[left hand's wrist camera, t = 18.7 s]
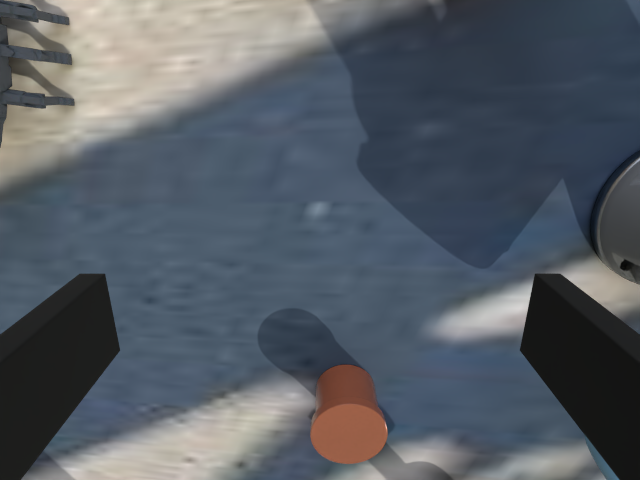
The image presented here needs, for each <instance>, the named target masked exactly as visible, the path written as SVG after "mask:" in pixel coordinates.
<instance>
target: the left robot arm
mask: <svg viewBox="0 0 640 480" xmlns="http://www.w3.org/2000/svg"><path fill="white" fill-rule="evenodd" d="M591 237H592V242H593V246H594V248H595V251H596V253H597V254H598V256H599V258H600V259H601V260H602V262H603V263H604V264H605V265H606V266H607V267H608V268H610V269H611V270H612V271H614V272H615V273H617V274H619V275H620V276H622V277H623V278H625V279H627V280H629V281H632V282H634V283H637V284H640V150H639V151H638V152H636V153H635V154H633V155H632V156H631V157H629V158H628V159H627V160H626V161H625V162H623V163H622V164H621V165H620V166H619V167H618V168H617V169H616V170H615V172H614V173H613V174H612V175H611V176H610V178H609V179H608V180H607V182H606V183H605V185H604V186H603V188H602V190H601V192H600V194H599V196H598V198H597V200H596V203H595V206H594V209H593V213H592V218H591ZM119 351H120V348H119V342H118V337H117V332H116V327H115V322H114V317H113V312H112V307H111V302H110V297H109V292H108V287H107V282H106V277H105V274H79V275H78V276H76V277H75V278H74V279H72V280H71V281H70V282H68V283H67V284H66V285H65V286H63V287H62V288H61V289H59V290H58V291H57V292H55V293H54V294H53V295H51V296H50V297H49V298H48V299H46V300H45V301H44V302H42V303H41V304H40V305H38V306H37V307H36V308H34V309H33V310H32V311H31V312H29V313H28V314H27V315H25V316H24V317H23V318H21V319H20V320H19V321H18V322H16V323H15V324H14V325H12V326H11V327H10V328H8V329H7V330H6V331H4V332H3V333H2V334H1V335H0V480H21V479H22V477H23V476H24V475H25V473H26V472H27V471H28V470H29V468H30V467H31V466H32V464H33V463H34V462H35V460H36V459H37V458H38V456H39V455H40V454H41V453H42V451H43V450H44V449H45V447H46V446H47V445H48V443H49V442H50V441H51V440H52V438H53V437H54V436H55V434H56V433H57V432H58V430H59V429H60V428H61V427H62V425H63V424H64V423H65V421H66V420H67V419H68V417H69V416H70V415H71V414H72V412H73V411H74V410H75V408H76V407H77V406H78V404H79V403H80V402H81V401H82V399H83V398H84V397H85V395H86V394H87V393H88V391H89V390H90V389H91V387H92V386H93V385H94V384H95V382H96V381H97V380H98V378H99V377H100V376H101V374H102V373H103V372H104V371H105V369H106V368H107V367H108V365H109V364H110V363H111V361H112V360H113V359H114V358H115V356H116V355H117V354H118V352H119ZM520 351H521V352H522V354H523V355H524V356H525V358H526V359H527V360H528V361H529V363H530V364H531V365H532V367H533V368H534V369H535V371H536V372H537V373H538V374H539V376H540V377H541V378H542V380H543V381H544V382H545V384H546V385H547V386H548V387H549V389H550V390H551V391H552V393H553V394H554V395H555V397H556V398H557V399H558V401H559V402H560V403H561V404H562V406H563V407H564V408H565V410H566V411H567V412H568V414H569V415H570V416H571V417H572V419H573V420H574V421H575V423H576V424H577V425H578V427H579V428H580V429H581V430H582V432H583V433H584V435H585V440H586V443H587V446H588V448H589V450H590V452H591V455H592V456H593V458H594V460H595V462H596V464H597V465H598V467H599V469H600V470H601V472H602V473H603V475H604V476H605V478H606V479H607V480H640V335H639V334H638V333H637V332H636V331H634V330H633V329H632V328H630V327H629V326H628V325H626V324H625V323H624V322H622V321H621V320H620V319H619V318H617V317H616V316H615V315H613V314H612V313H611V312H609V311H608V310H607V309H606V308H604V307H603V306H602V305H600V304H599V303H598V302H596V301H595V300H594V299H592V298H591V297H590V296H589V295H587V294H586V293H585V292H583V291H582V290H581V289H579V288H578V287H577V286H575V285H574V284H573V283H572V282H570V281H569V280H568V279H566V278H565V277H564V276H562V275H561V274H535V277H534V282H533V287H532V292H531V297H530V302H529V307H528V312H527V317H526V322H525V327H524V332H523V337H522V342H521V348H520Z"/></svg>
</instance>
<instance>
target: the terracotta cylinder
mask: <svg viewBox="0 0 640 480" xmlns="http://www.w3.org/2000/svg"><path fill="white" fill-rule="evenodd" d="M387 435H388V430H387V425H386V420H385V417H384V414H383V413H382V411H381V410H380V409H379V408H378V403H377V397H376V392H375V386H374V382H373V379H372V378H371V376H370V375H369V374H368V373H367V372H366V371H365V370H363V369H362V368H360V367H357V366H354V365H338V366H334V367H332V368H330V369H328V370H326V371H325V372H324V373H323V374H322V375H321V376H320V378H319V379H318V381H317V384H316V411H315V414H314V415H313V417H312V420H311V429H310V436H311V441H312V444H313V446H314V448H315V449H316V450H317V451H318V453H319V454H321V455H322V456H323V457H325V458H327V459H329V460H331V461H333V462H337V463H343V464H353V463H359V462H363V461H366V460H368V459H370V458H372V457H373V456H375V455H376V454H377V453H379V451H380V450H381V449H382V448H383V446H384V445H385V443H386V440H387Z"/></svg>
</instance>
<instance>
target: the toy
mask: <svg viewBox="0 0 640 480" xmlns="http://www.w3.org/2000/svg"><path fill="white" fill-rule="evenodd" d="M1 17H9V18H15V19H21V20H27V21H32V22H38V19H39V20H44V21H48V22H52V23H59V24H65V25H69V18H68V17H65V16H59V15H53V14H49V13H46V12H42V11H39V10H37V8H36V7H35V6H33V5H29V4H23V3H17V2H11V1H4V0H0V147H1V142H2V131H3V124H4V121H5V120H6V114H7V104H11V105H19V106H26V107H34V108H46V105H72V106H74V99H70V98H63V97H45V94H38V93H27V92H25V91H18V90H11V89H9V88H10V87H11V86H12V76H11V67H10V66H9V57H15V58H21V59H28V60H35V61H45V62H53V63H61V64H68V65H72V60H71V54H66V53H59V52H52V51H44V50H37V49H32V48H25V47H18V46H11V45H8V36H7V27H6V25H1ZM38 23H39V22H38Z"/></svg>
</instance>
